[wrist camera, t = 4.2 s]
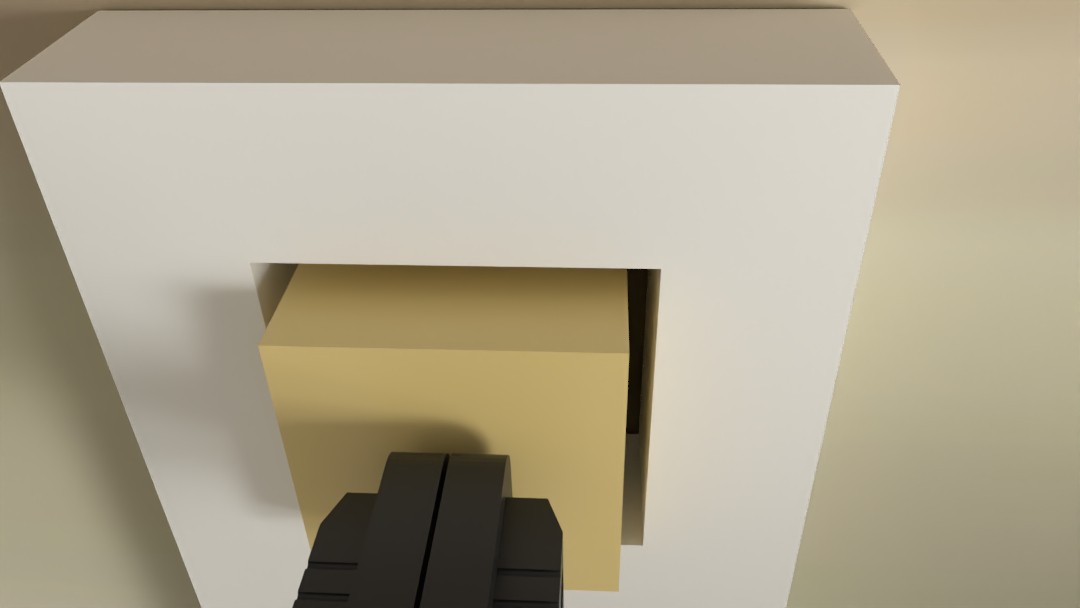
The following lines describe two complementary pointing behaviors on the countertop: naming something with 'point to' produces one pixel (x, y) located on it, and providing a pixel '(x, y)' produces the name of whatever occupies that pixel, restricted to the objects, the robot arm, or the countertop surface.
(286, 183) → the button panel
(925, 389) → the countertop surface
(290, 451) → the ochre button
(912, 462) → the countertop surface
